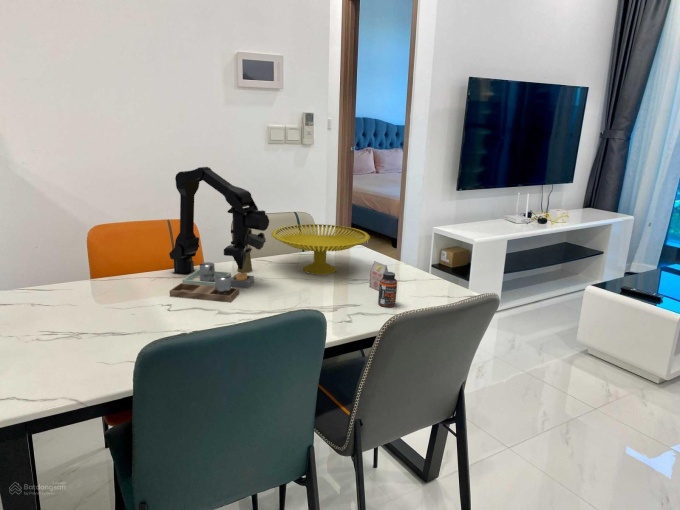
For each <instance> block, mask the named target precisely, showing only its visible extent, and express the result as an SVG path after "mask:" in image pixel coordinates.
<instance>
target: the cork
mask: <svg viewBox="0 0 680 510" xmlns="http://www.w3.org/2000/svg"><path fill="white" fill-rule="evenodd" d="M248 248H250V249H252V246H250V245H248ZM251 252H252V250H251V251H250V252H249V253H247V256H246V259H245V263H244V267H243V269H239V267H238V266H237V270H236V271H237V272H238V273H246V274H249V273H252V272H253V266H252V259H251V254H252V253H251Z"/></svg>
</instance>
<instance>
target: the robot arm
mask: <svg viewBox="0 0 680 510" xmlns="http://www.w3.org/2000/svg"><path fill="white" fill-rule="evenodd" d="M174 180H175V188H176V189H177V191H178V193H179V196H180V199H179V200H180V201H179V202H180V203H179V205H180V207H179V208H180V209H179V212H180V213H179V232H178V234H177V237H176V238H175V243H174V247H173V248H172V250H171V251H170V252H169V254H168V255H169V259H170V260H173V272H172V274H174V275H183V276H189V275H191V274H192V273H194V272H195V271H196V269H195V261H194V260H193V257H196V254H197V252H198V250H199V248H200V237H198V236H196V234H195V231H194V224H195V223H194V222H195V221H194V220H195V195H196V194H197V192H198V189H199V187H200V182H202V181H203V182H205V183H206V184H207V185H208V186H210V187H211V188H212V189H214V190H215V191H217V192H218V193H220V194H221V195H222V196H223V197H224V198H225V201H226V202H227V204H228V205H229V206H230V208H229V209H228V210H227V213H228V214H232V229H231V230H230V234H232V240H231V241H230V244H229V245H228V246H226V247H224V249H223V256H229V257H232V258H233V259H234V262H235V263H236V266H237V268H238V267H239V269H243V267H244V263H245V259H246V256H247V253H249V252H250V251H251V252H252V250H253V248H254V249H256V250H262V248H264V245H265V243H266V242H267V241H266V237H265V233H263V232H264V231H266V230H268V229H269V225H270V219H269V216H268V214H266V210H259V207H258V206H257V204H256V202H255V201H254V199H253V197H252V193H251V192H250V191H249V190H246V189H245V188H242V187H238V186H236V185H233V184H231V183H230V182H228V181H227V180H226V179H225V178H223V177H222V176H220V175H219V174H218V173H216V172H214V170H212V168H211V167H208V166H202V167H197V168H195V169H191V170H186V171H182V170H181V171H178V172H177V174H175V178H174ZM253 230H257V231H262V232H260V233H258V234H257V233H253V232H252V231H253ZM248 245H249V246H250V247H251V249H250V248H248ZM252 247H253V248H252Z"/></svg>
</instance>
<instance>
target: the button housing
mask: <svg viewBox="0 0 680 510" xmlns="http://www.w3.org/2000/svg"><path fill="white" fill-rule="evenodd" d="M236 274H237V273H236ZM236 274H234V275H233V276H231V288H238V289H249V288H250V287H251V286H252V285H253V284H254V283H255V275H248V274H247V280H246V281H244V280H236Z"/></svg>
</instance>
